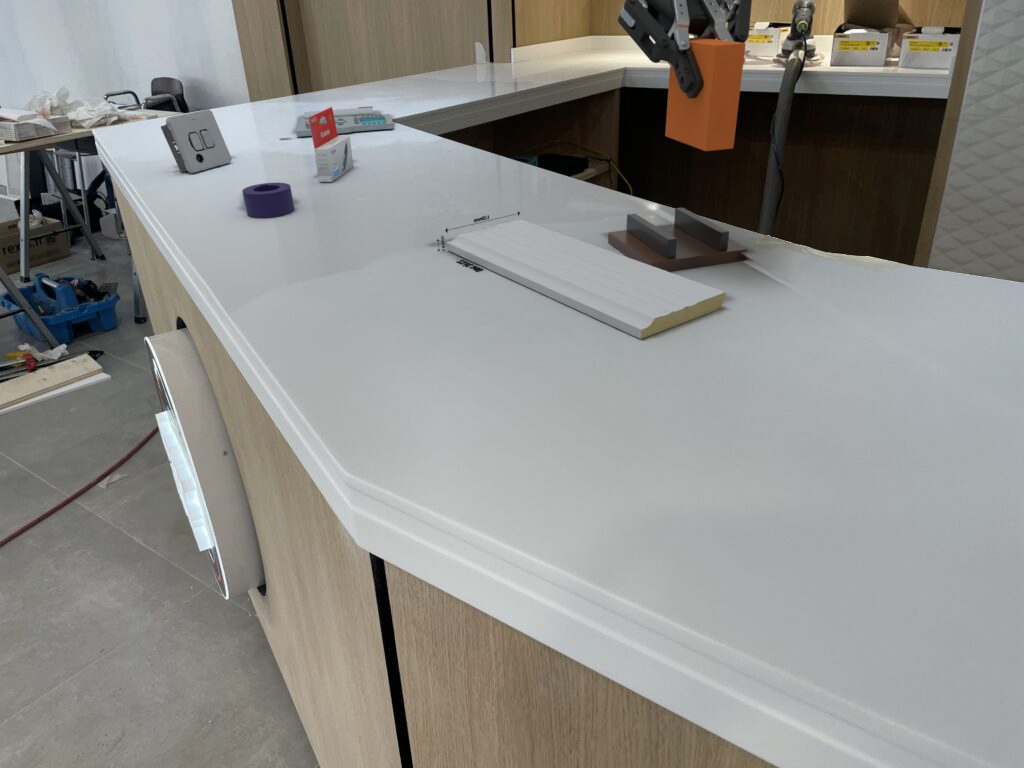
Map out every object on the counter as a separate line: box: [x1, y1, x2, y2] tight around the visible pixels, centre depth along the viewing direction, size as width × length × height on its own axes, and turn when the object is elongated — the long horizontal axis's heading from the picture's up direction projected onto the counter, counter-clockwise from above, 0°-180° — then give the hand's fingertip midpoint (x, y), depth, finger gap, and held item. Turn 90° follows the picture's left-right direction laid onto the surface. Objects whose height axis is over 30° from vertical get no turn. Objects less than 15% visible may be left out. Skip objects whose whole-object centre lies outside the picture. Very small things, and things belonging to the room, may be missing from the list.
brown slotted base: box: [607, 207, 748, 272], centre depth 80 cm, size 11×11×3 cm
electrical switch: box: [160, 109, 233, 174], centre depth 126 cm, size 9×5×9 cm, turn 153°
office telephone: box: [295, 105, 394, 137], centre depth 160 cm, size 23×3×20 cm
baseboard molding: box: [436, 211, 726, 340], centre depth 74 cm, size 31×3×12 cm
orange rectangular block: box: [664, 37, 746, 152], centre depth 69 cm, size 3×8×9 cm, turn 17°
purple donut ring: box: [241, 182, 295, 219], centre depth 102 cm, size 12×6×3 cm, turn 26°
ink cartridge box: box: [308, 106, 354, 183], centre depth 117 cm, size 2×11×10 cm, turn 173°
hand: (714, 90), depth 67 cm, fingers closed on orange rectangular block, 3 cm apart
